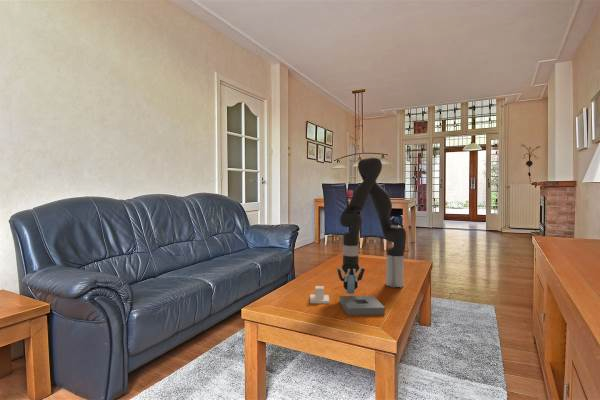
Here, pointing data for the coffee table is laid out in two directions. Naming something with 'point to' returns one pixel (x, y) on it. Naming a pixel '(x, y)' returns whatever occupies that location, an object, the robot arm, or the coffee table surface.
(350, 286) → the peg
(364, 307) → the socket plate
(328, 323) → the coffee table surface
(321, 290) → the lid
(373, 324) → the coffee table surface
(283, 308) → the coffee table surface
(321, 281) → the coffee table surface
